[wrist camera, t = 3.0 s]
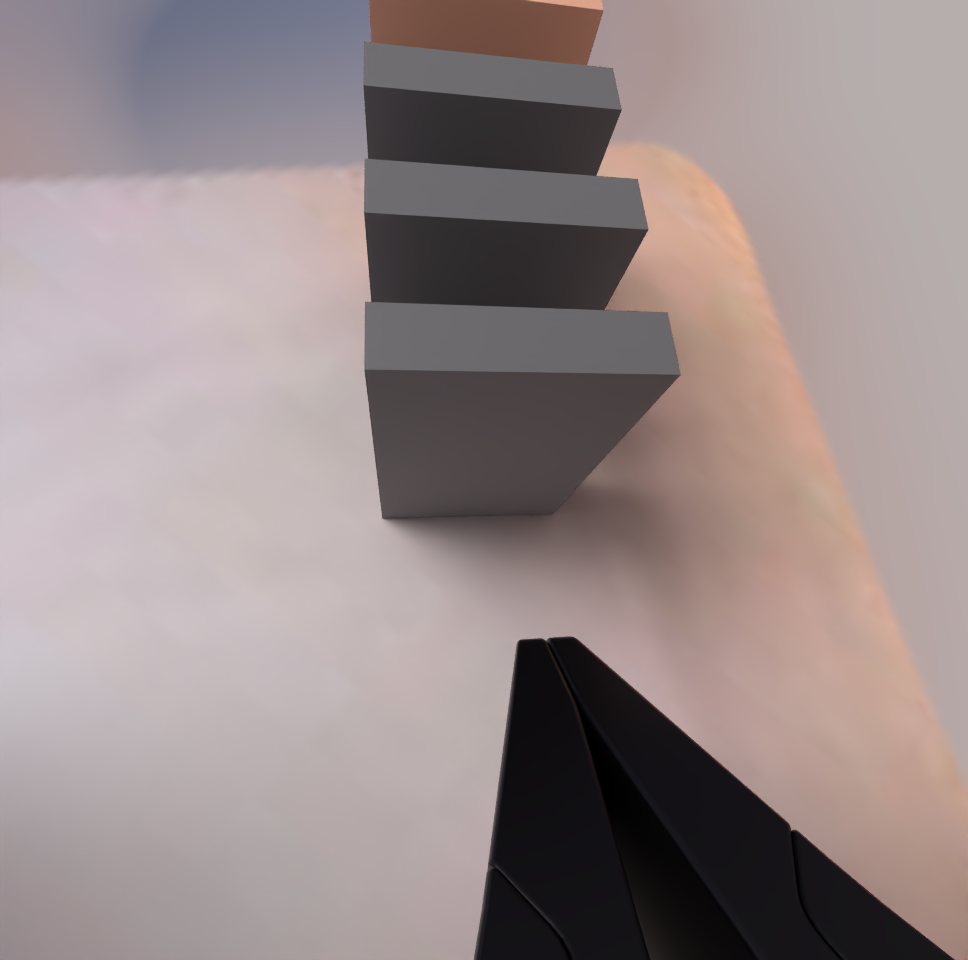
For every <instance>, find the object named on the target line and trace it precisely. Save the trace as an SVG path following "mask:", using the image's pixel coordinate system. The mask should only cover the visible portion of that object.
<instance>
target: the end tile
mask: <svg viewBox="0 0 968 960" xmlns="http://www.w3.org/2000/svg"><path fill="white" fill-rule="evenodd" d="M369 2H370V25H371V43H381V44H390V45H400V46H409V47H418V48H428V49H437V50H446V51H456V52H465V53H474V54H484V55H493V56H503V57H512V58H521V59H531V60H540V61H549V62H559V63H568V64H577V65H587V63H588V60H589V57H590V53H591V50H592V47H593V43H594V40H595V37H596V33H597V30H598V27H599V23H600V20H601V17H602V14H603V5H602V1H601V0H369Z"/></svg>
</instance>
